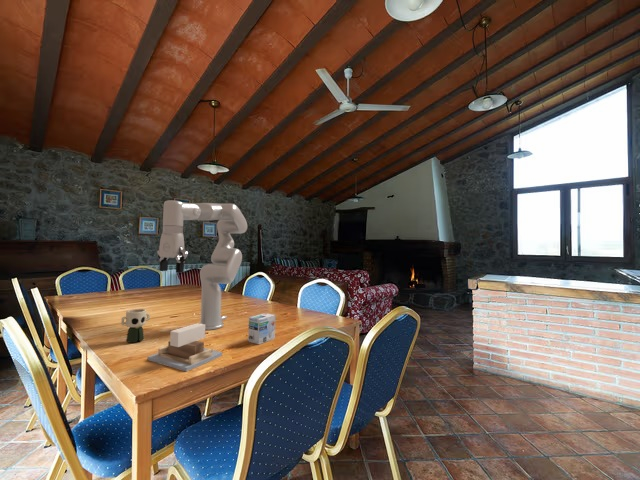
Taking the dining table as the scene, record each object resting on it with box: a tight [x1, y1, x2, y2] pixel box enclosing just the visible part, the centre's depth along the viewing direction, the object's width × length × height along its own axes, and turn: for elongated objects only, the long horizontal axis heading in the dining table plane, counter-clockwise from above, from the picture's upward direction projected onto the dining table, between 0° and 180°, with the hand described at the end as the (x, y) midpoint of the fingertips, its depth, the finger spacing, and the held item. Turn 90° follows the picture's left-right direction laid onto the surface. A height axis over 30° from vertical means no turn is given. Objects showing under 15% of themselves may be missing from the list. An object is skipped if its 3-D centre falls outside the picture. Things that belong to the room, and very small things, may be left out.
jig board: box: [147, 347, 223, 372], centre depth 108 cm, size 16×20×1 cm
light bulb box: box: [247, 312, 276, 345], centre depth 130 cm, size 11×7×11 cm, turn 148°
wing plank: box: [169, 322, 206, 347], centre depth 108 cm, size 12×4×5 cm, turn 155°
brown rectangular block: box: [167, 340, 205, 359], centre depth 107 cm, size 4×12×5 cm, turn 71°
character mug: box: [120, 308, 151, 343], centre depth 124 cm, size 11×7×13 cm, turn 145°
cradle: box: [157, 345, 214, 365], centre depth 107 cm, size 9×17×2 cm, turn 64°
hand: (171, 271), depth 121 cm, fingers open, 9 cm apart
